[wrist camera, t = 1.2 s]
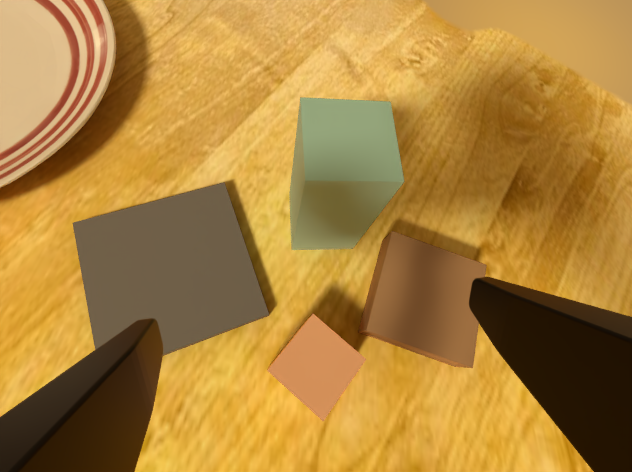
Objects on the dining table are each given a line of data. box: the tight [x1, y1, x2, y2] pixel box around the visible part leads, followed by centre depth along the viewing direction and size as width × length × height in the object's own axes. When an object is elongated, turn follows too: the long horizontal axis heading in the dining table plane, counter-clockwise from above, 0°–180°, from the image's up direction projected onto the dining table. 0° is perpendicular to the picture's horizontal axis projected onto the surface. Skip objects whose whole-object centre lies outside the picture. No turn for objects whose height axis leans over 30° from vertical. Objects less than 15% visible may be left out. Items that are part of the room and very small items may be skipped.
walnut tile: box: [358, 231, 486, 368], centre depth 22 cm, size 7×7×2 cm
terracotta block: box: [267, 314, 366, 421], centre depth 20 cm, size 4×4×3 cm
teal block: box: [290, 97, 404, 250], centre depth 20 cm, size 4×4×10 cm
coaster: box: [73, 183, 269, 356], centre depth 21 cm, size 10×10×1 cm
